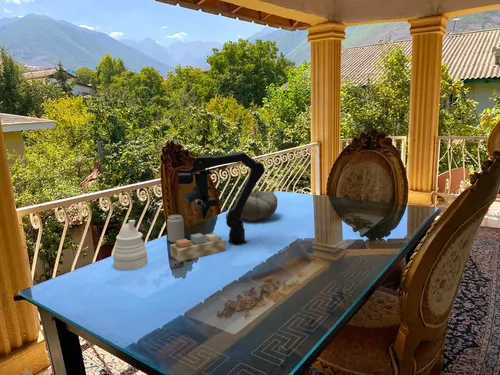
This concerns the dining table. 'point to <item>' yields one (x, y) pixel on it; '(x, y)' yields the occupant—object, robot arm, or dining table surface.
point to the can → (175, 228)
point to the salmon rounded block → (182, 243)
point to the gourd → (259, 205)
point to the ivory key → (211, 237)
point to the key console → (197, 250)
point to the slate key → (197, 239)
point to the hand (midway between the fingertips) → (203, 218)
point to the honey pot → (129, 248)
